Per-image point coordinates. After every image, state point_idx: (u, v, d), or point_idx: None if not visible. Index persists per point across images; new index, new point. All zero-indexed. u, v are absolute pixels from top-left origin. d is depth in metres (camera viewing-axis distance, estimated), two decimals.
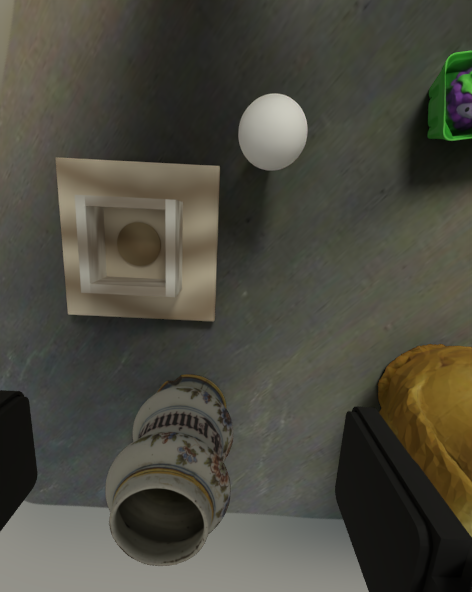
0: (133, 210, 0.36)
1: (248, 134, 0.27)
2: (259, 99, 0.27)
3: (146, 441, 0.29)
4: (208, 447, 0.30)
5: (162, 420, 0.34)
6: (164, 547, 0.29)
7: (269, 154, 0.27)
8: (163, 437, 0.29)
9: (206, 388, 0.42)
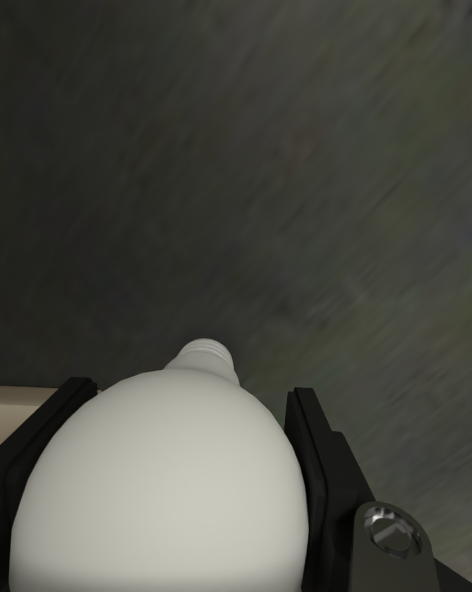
0: None
1: None
2: (67, 474, 0.05)
3: None
4: None
5: None
6: None
7: None
8: None
9: None
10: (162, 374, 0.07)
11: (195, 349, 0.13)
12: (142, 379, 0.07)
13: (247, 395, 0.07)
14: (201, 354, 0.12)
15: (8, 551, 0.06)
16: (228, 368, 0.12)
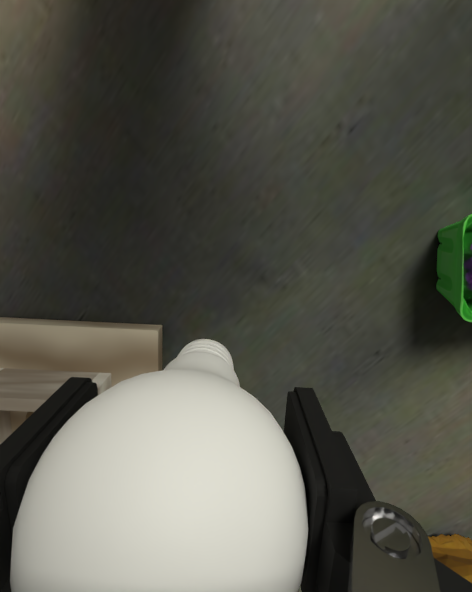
0: None
1: None
2: (68, 475, 0.05)
3: None
4: None
5: None
6: None
7: None
8: None
9: None
10: (162, 375, 0.07)
11: (195, 349, 0.13)
12: (142, 380, 0.07)
13: (247, 395, 0.07)
14: (201, 354, 0.12)
15: (8, 551, 0.06)
16: (228, 368, 0.12)
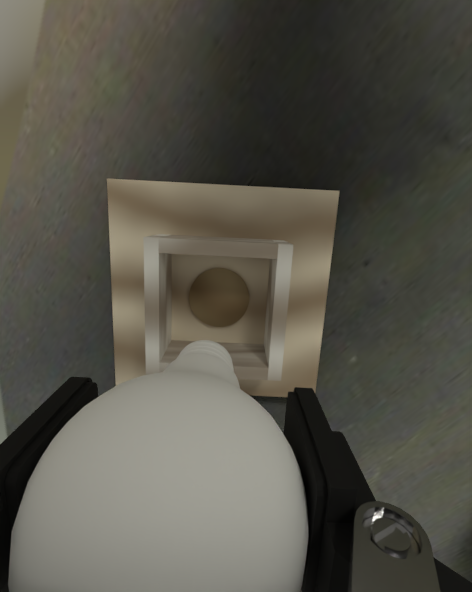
0: None
1: None
2: (66, 478, 0.05)
3: None
4: None
5: None
6: None
7: None
8: None
9: None
10: (162, 377, 0.07)
11: (195, 351, 0.13)
12: (142, 382, 0.07)
13: (247, 398, 0.07)
14: (201, 356, 0.12)
15: (8, 551, 0.06)
16: (228, 370, 0.12)
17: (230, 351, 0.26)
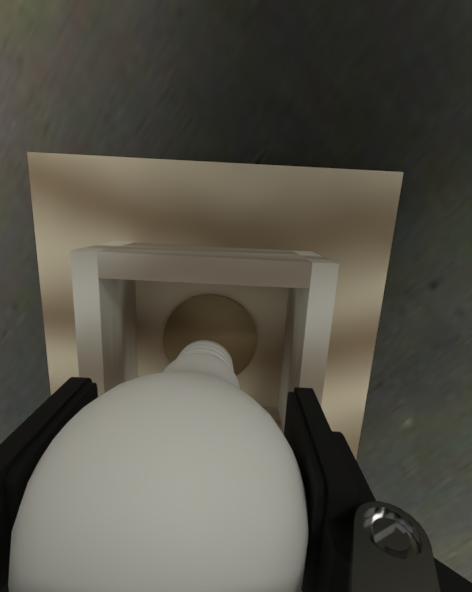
0: None
1: None
2: (66, 479, 0.05)
3: None
4: None
5: None
6: None
7: None
8: None
9: None
10: (162, 377, 0.07)
11: (195, 351, 0.13)
12: (142, 382, 0.07)
13: (247, 398, 0.07)
14: (201, 356, 0.12)
15: (8, 551, 0.06)
16: (228, 370, 0.12)
17: None
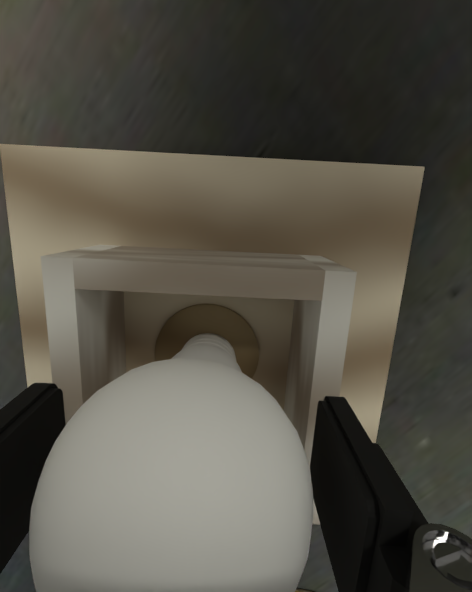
0: None
1: None
2: (86, 454, 0.06)
3: None
4: None
5: None
6: None
7: None
8: None
9: None
10: (172, 362, 0.07)
11: (199, 343, 0.13)
12: (153, 367, 0.07)
13: (254, 382, 0.08)
14: (206, 347, 0.12)
15: None
16: (232, 361, 0.12)
17: None
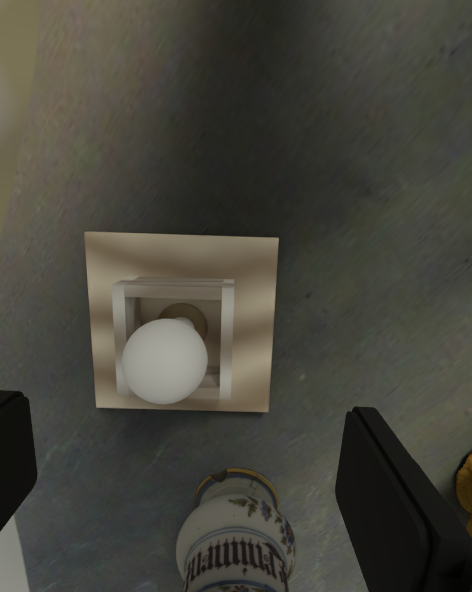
0: None
1: (127, 380, 0.22)
2: (139, 338, 0.21)
3: None
4: None
5: (218, 553, 0.27)
6: None
7: (154, 402, 0.22)
8: None
9: (256, 485, 0.36)
10: (162, 319, 0.23)
11: (176, 320, 0.29)
12: (156, 320, 0.23)
13: (188, 325, 0.24)
14: (178, 320, 0.28)
15: None
16: (189, 326, 0.28)
17: None
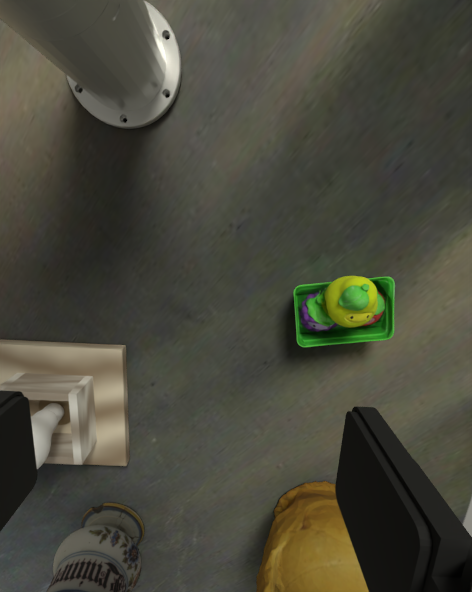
0: None
1: None
2: None
3: None
4: None
5: (70, 570, 0.40)
6: None
7: None
8: None
9: (124, 515, 0.49)
10: None
11: (46, 408, 0.41)
12: None
13: (35, 426, 0.36)
14: (44, 411, 0.40)
15: None
16: (51, 415, 0.40)
17: (62, 442, 0.43)
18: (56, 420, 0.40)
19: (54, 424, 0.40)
